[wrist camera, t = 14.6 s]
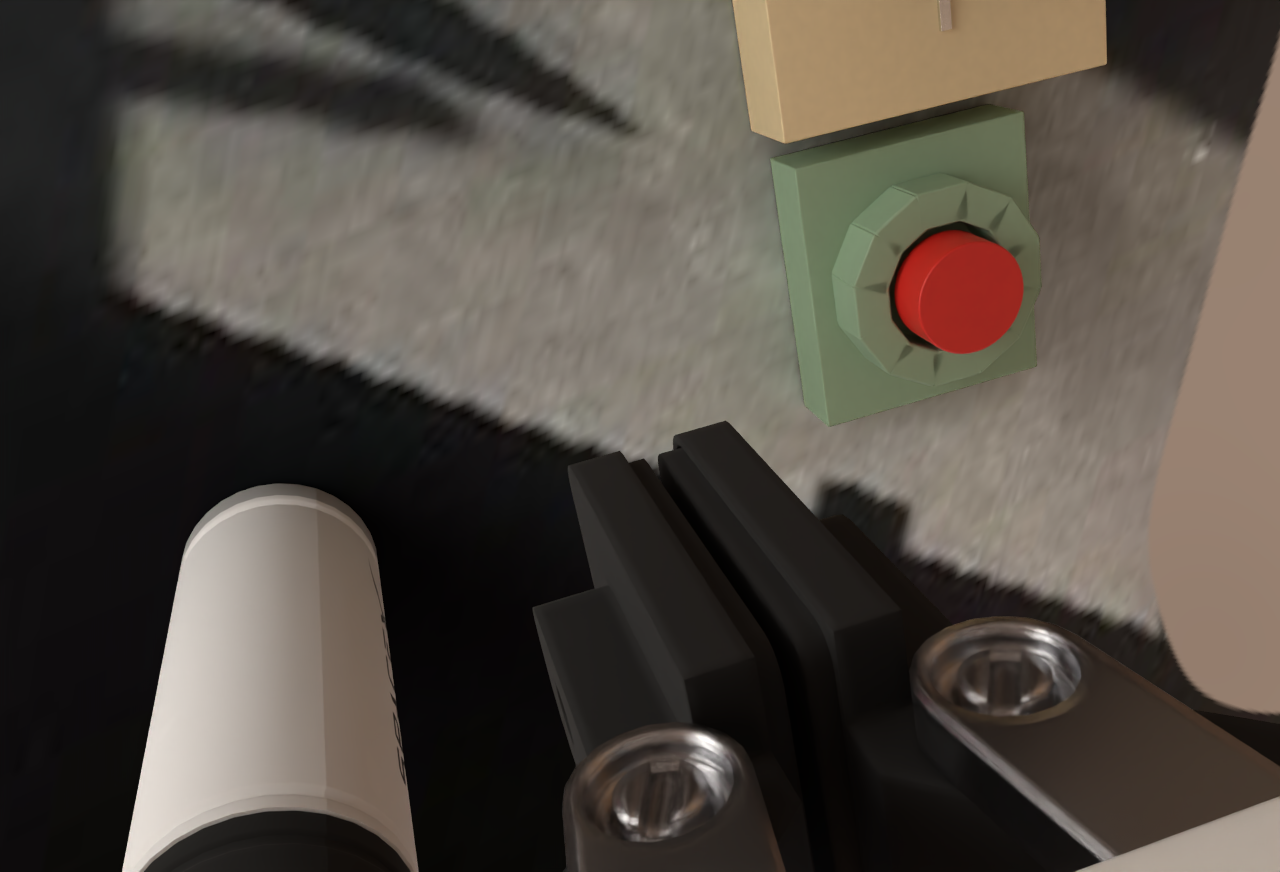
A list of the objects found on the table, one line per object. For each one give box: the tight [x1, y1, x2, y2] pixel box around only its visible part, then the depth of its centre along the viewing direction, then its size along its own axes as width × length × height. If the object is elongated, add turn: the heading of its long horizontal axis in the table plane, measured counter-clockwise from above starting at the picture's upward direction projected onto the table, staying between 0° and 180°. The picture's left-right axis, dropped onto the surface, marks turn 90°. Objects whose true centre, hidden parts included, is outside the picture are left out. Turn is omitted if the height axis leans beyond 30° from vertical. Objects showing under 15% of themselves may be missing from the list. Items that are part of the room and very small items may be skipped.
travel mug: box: [122, 483, 418, 872], centre depth 31 cm, size 6×7×20 cm
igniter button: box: [894, 230, 1024, 354], centre depth 38 cm, size 4×4×2 cm
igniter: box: [770, 104, 1042, 427], centre depth 40 cm, size 9×8×4 cm
